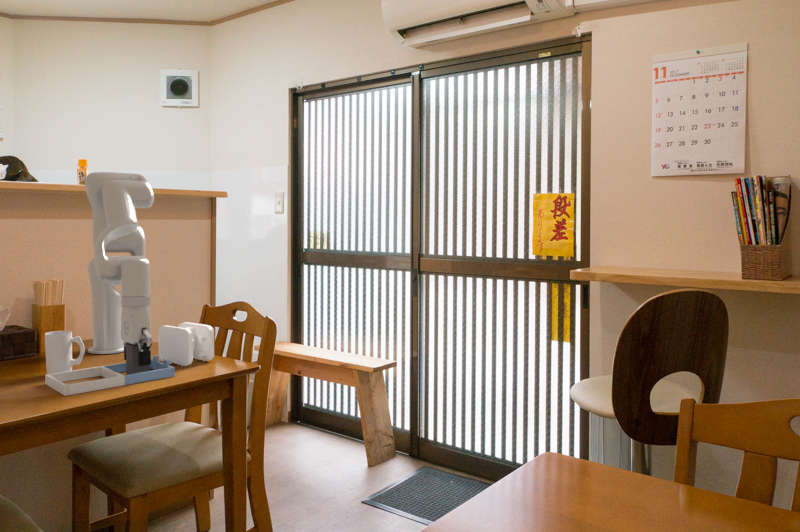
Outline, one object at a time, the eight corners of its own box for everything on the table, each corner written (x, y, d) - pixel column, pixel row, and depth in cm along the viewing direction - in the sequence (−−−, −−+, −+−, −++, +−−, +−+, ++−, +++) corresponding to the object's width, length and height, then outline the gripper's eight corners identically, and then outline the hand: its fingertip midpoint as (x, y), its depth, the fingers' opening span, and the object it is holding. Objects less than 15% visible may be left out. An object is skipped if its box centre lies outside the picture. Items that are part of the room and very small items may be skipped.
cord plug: (126, 375, 173) (125, 333, 172) (142, 373, 176) (141, 331, 175) (132, 378, 170) (131, 335, 169) (149, 375, 173) (148, 333, 172)
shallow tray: (45, 383, 163) (45, 368, 163) (151, 366, 183) (150, 353, 183) (64, 395, 152) (64, 379, 152) (174, 376, 173) (174, 361, 172)
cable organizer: (156, 362, 190) (155, 325, 189) (184, 356, 199) (184, 320, 198) (188, 368, 182) (187, 329, 181) (216, 361, 191) (215, 324, 190)
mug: (41, 378, 169) (40, 335, 168) (51, 372, 176) (49, 331, 175) (81, 376, 171) (80, 334, 170) (88, 371, 178) (87, 330, 177)
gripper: (110, 300, 175) (111, 359, 176) (135, 306, 163) (136, 369, 164) (136, 298, 180) (137, 355, 181) (162, 303, 168) (164, 365, 169)
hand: (137, 362), depth 173 cm, fingers open, 9 cm apart
